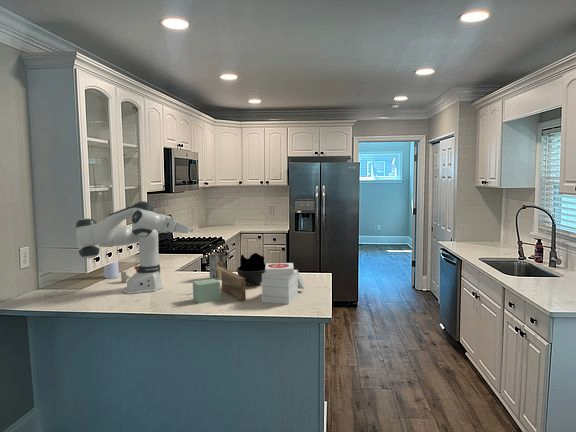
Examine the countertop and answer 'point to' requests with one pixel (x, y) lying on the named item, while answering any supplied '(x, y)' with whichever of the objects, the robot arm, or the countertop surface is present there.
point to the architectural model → (124, 276)
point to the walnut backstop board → (233, 285)
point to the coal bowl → (252, 269)
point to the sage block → (206, 290)
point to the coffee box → (217, 265)
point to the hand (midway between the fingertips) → (188, 229)
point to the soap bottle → (111, 270)
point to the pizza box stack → (281, 283)
